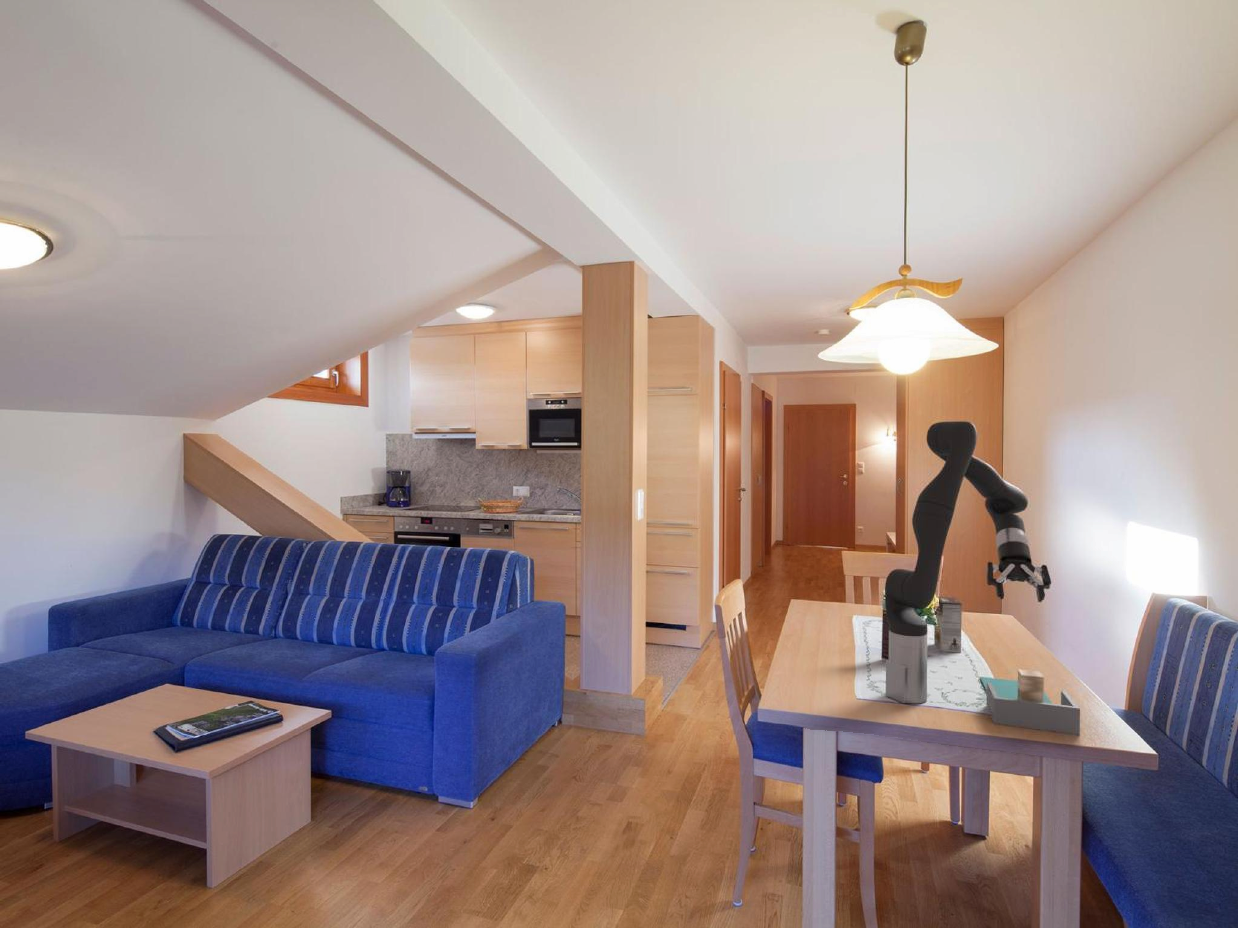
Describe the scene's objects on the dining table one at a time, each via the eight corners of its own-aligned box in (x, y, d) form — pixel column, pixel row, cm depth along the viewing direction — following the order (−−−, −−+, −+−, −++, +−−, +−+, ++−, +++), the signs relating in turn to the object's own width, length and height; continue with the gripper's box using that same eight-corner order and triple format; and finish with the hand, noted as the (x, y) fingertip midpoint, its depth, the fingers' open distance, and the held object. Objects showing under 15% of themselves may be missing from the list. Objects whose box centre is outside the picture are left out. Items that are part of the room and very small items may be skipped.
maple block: (1021, 708, 157) (1021, 674, 157) (1017, 701, 161) (1017, 669, 161) (1043, 710, 155) (1043, 677, 155) (1038, 704, 159) (1039, 671, 159)
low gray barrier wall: (994, 723, 155) (994, 698, 155) (986, 705, 166) (986, 682, 166) (1079, 734, 149) (1080, 708, 149) (1065, 715, 160) (1065, 690, 160)
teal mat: (990, 700, 170) (990, 698, 170) (980, 678, 187) (980, 676, 187) (1053, 708, 165) (1053, 705, 165) (1037, 685, 182) (1037, 682, 182)
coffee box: (933, 643, 222) (933, 596, 222) (953, 644, 221) (954, 597, 220) (940, 651, 213) (941, 602, 213) (962, 652, 212) (962, 603, 211)
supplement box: (891, 664, 199) (891, 612, 199) (880, 659, 204) (881, 608, 204) (915, 662, 201) (915, 610, 201) (904, 657, 206) (904, 607, 206)
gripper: (985, 538, 179) (991, 588, 169) (1046, 541, 174) (1056, 592, 164) (982, 555, 184) (988, 604, 174) (1041, 558, 179) (1051, 609, 169)
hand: (1021, 598), depth 169 cm, fingers open, 8 cm apart
